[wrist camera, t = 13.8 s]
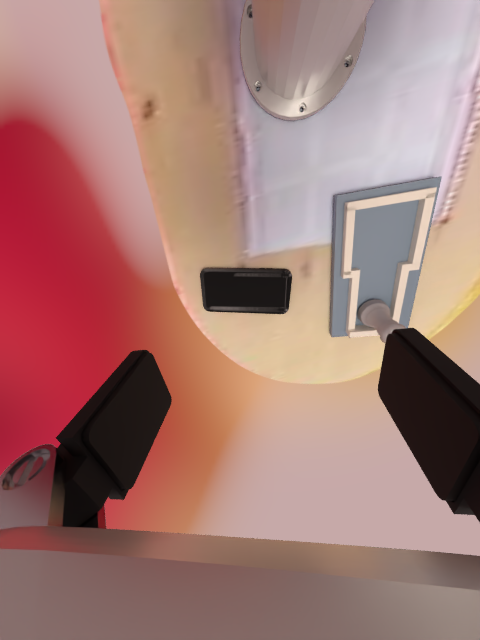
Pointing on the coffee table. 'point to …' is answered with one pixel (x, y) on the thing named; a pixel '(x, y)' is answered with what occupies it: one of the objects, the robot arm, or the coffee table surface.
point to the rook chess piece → (378, 318)
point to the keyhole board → (378, 251)
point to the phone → (246, 290)
